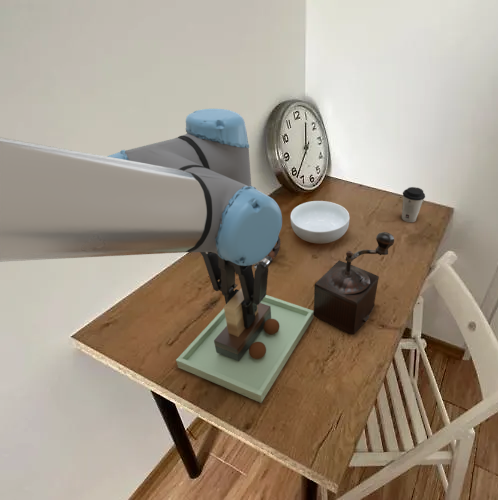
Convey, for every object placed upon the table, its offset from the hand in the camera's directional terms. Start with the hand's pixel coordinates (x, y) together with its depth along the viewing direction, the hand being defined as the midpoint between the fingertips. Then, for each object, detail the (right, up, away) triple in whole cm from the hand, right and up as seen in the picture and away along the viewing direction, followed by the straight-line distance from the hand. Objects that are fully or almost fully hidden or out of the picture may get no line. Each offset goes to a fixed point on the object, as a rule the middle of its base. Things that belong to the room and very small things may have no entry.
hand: (243, 320), depth 69 cm
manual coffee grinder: (+21, +1, +13) cm, 25 cm away
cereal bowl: (+13, +18, +35) cm, 41 cm away
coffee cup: (+41, +24, +46) cm, 66 cm away
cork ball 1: (+3, -5, -2) cm, 6 cm away
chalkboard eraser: (0, -3, +2) cm, 4 cm away
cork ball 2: (+5, -2, +3) cm, 6 cm away
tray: (+1, -5, +3) cm, 6 cm away
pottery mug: (-3, +12, +26) cm, 29 cm away
